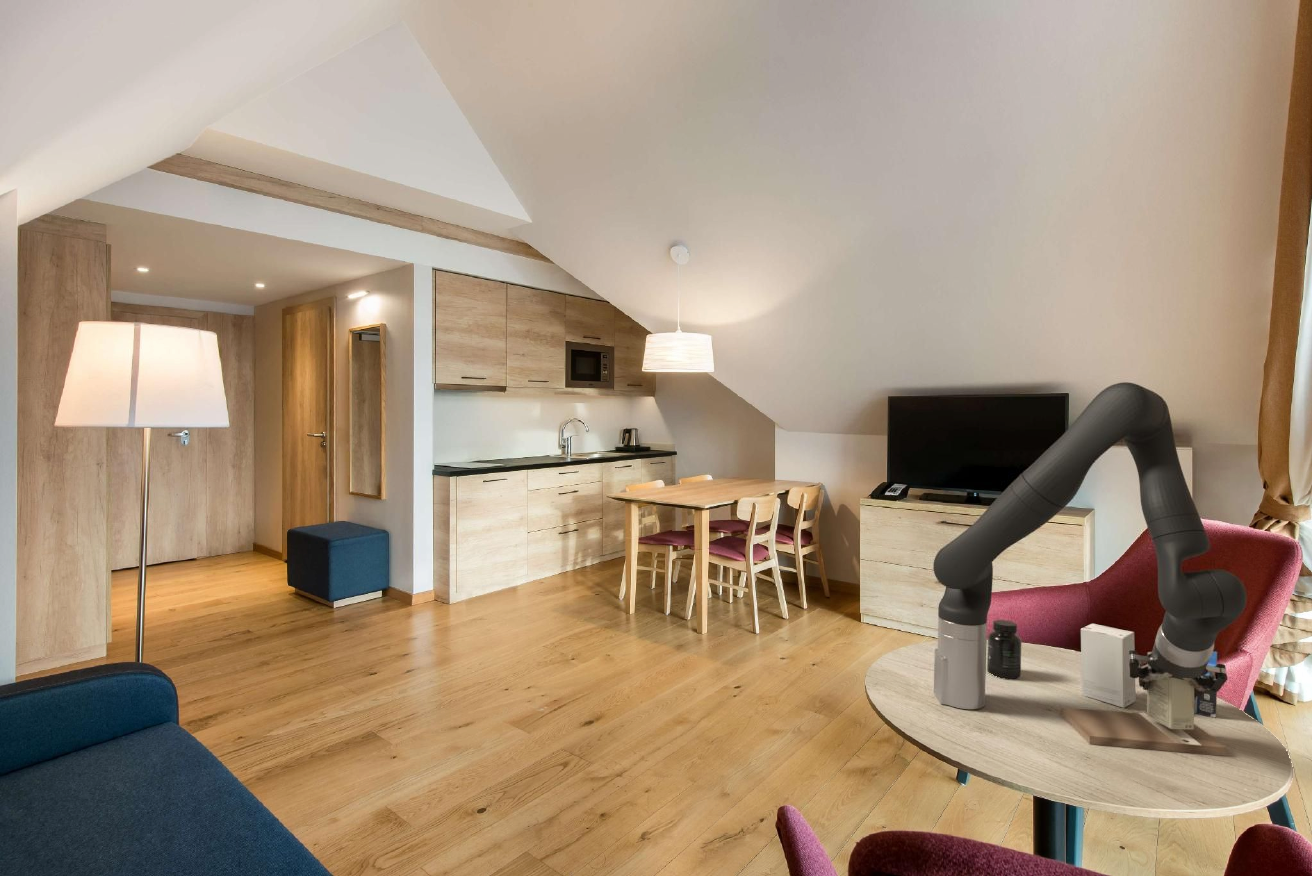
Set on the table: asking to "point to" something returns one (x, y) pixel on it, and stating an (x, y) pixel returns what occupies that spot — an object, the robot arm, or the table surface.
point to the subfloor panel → (1138, 732)
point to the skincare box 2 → (1171, 702)
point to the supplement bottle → (1004, 650)
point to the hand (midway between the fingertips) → (1168, 689)
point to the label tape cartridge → (1207, 695)
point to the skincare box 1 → (1107, 664)
